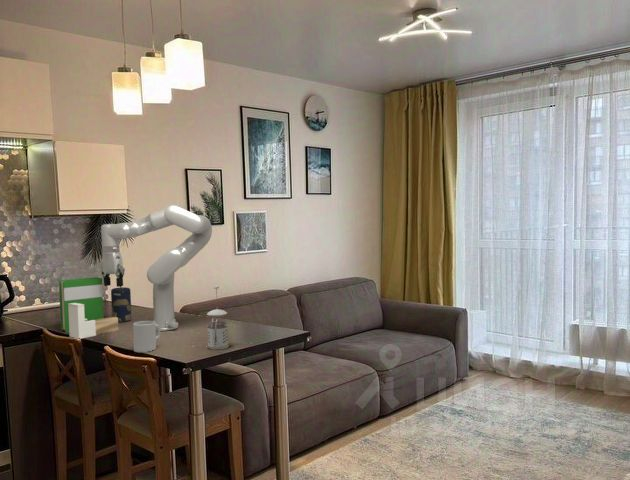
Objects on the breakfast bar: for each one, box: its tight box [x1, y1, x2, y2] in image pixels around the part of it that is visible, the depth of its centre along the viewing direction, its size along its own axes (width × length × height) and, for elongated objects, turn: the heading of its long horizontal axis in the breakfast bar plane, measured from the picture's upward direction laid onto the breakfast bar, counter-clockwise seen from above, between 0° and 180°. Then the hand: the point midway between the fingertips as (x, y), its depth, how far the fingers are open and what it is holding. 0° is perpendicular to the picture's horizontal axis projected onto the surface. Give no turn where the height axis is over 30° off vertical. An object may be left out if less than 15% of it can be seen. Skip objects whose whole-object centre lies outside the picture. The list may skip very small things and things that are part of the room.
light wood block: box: [85, 316, 119, 336], centre depth 251 cm, size 4×16×7 cm, turn 143°
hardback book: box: [58, 276, 104, 334], centre depth 261 cm, size 18×7×24 cm, turn 131°
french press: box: [206, 285, 229, 347], centre depth 218 cm, size 10×12×25 cm
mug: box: [132, 320, 161, 353], centre depth 218 cm, size 12×8×11 cm
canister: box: [110, 286, 133, 323], centre depth 279 cm, size 10×10×18 cm
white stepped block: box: [68, 303, 97, 340], centre depth 244 cm, size 8×8×15 cm
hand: (113, 286), depth 257 cm, fingers open, 9 cm apart
